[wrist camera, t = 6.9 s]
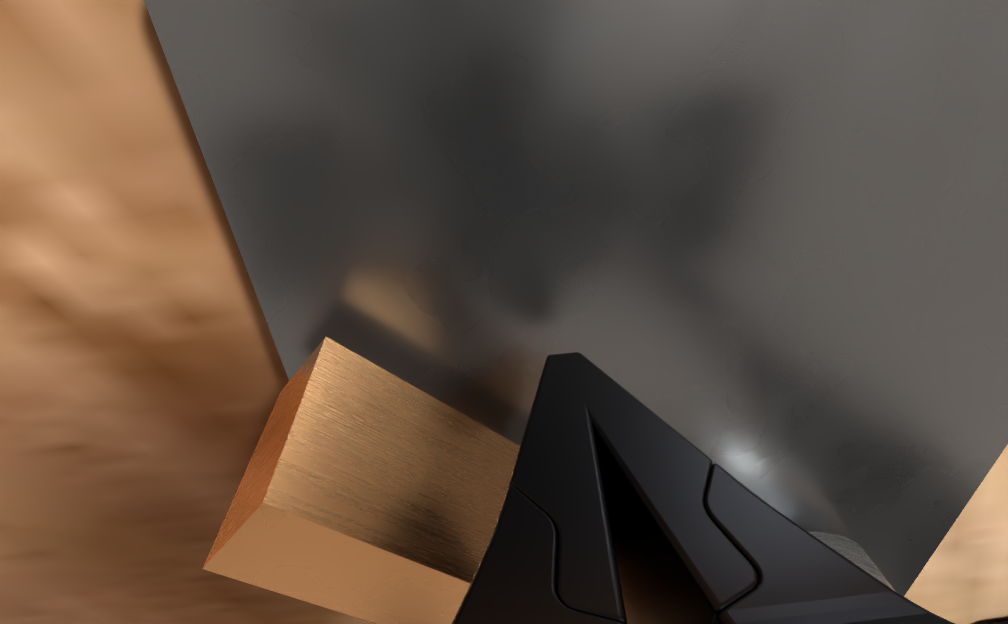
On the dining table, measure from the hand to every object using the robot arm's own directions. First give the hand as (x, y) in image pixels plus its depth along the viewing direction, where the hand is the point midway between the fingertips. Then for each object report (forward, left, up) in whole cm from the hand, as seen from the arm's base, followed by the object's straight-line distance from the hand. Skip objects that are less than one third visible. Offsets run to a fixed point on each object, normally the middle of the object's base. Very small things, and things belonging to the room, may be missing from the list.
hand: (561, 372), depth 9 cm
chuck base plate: (-4, -4, -2) cm, 6 cm away
